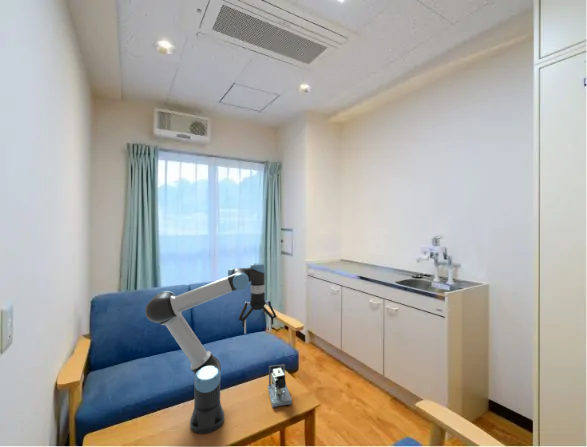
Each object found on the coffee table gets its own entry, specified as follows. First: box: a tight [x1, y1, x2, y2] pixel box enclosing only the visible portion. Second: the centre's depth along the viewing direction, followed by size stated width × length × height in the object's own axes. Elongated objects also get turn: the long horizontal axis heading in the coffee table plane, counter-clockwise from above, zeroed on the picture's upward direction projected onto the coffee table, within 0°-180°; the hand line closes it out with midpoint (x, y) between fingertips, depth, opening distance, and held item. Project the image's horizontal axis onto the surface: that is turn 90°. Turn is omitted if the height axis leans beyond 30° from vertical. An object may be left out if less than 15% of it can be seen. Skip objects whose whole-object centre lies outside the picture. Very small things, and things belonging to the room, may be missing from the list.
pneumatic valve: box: [271, 367, 287, 395], centre depth 146 cm, size 6×12×12 cm, turn 19°
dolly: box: [267, 363, 293, 409], centre depth 147 cm, size 10×16×14 cm, turn 13°
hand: (257, 331), depth 148 cm, fingers open, 13 cm apart
